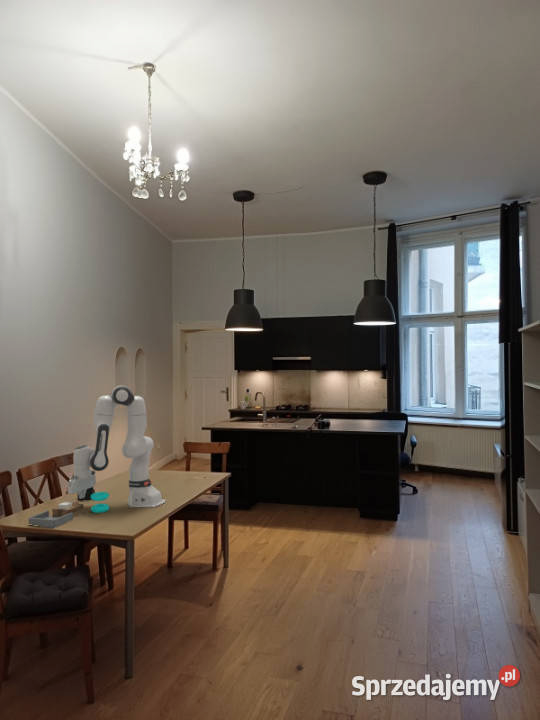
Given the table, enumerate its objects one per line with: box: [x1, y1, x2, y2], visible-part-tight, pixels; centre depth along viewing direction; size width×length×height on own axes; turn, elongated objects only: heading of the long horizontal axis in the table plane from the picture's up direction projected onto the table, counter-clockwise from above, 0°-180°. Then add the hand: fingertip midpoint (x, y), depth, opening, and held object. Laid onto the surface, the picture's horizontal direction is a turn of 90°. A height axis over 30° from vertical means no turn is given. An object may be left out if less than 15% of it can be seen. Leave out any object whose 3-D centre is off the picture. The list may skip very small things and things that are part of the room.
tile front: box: [57, 501, 72, 509], centre depth 287 cm, size 5×5×2 cm
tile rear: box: [65, 499, 80, 506], centre depth 292 cm, size 5×5×2 cm
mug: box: [76, 487, 96, 501], centre depth 324 cm, size 9×12×9 cm
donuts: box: [90, 491, 110, 514], centre depth 297 cm, size 10×10×10 cm
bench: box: [52, 503, 85, 518], centre depth 289 cm, size 11×12×5 cm
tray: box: [28, 510, 74, 529], centre depth 277 cm, size 17×14×4 cm
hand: (82, 498), depth 300 cm, fingers closed
